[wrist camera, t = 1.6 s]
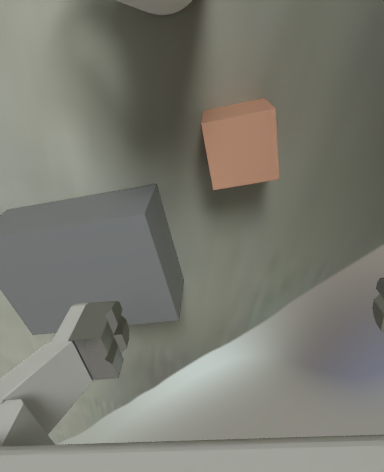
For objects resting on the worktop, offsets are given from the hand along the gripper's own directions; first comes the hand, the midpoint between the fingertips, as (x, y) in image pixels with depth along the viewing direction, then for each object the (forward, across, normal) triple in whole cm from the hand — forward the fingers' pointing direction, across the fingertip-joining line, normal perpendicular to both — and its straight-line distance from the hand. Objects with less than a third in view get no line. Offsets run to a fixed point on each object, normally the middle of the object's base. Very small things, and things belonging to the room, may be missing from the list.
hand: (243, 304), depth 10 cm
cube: (+19, -2, -1) cm, 19 cm away
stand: (+20, +14, +9) cm, 26 cm away
